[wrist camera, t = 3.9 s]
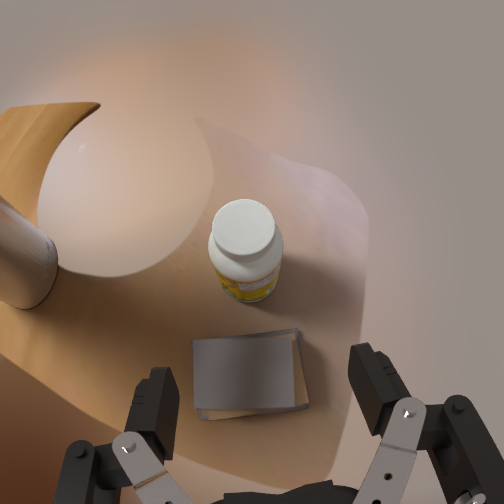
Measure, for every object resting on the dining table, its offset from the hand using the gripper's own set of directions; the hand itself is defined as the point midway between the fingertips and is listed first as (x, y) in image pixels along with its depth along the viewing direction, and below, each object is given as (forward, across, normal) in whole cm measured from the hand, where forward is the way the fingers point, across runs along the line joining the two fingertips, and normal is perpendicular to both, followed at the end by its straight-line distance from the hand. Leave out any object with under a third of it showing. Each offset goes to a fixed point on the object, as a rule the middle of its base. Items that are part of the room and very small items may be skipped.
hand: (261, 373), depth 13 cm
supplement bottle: (+16, 0, +3) cm, 16 cm away
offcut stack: (+9, +1, +9) cm, 13 cm away
